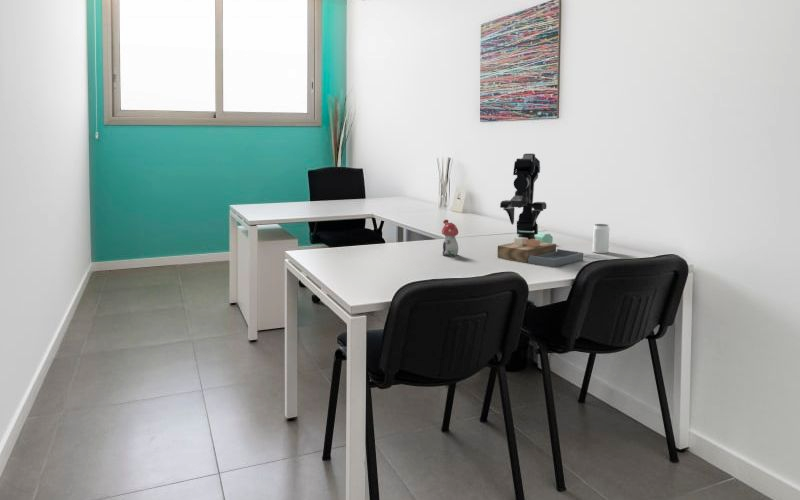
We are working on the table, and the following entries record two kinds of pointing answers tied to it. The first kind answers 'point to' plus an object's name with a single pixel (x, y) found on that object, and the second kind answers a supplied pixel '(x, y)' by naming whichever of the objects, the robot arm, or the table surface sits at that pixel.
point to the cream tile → (520, 241)
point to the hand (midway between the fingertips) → (522, 225)
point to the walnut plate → (524, 251)
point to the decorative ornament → (450, 239)
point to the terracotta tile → (533, 242)
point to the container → (543, 237)
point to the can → (600, 238)
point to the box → (556, 258)
